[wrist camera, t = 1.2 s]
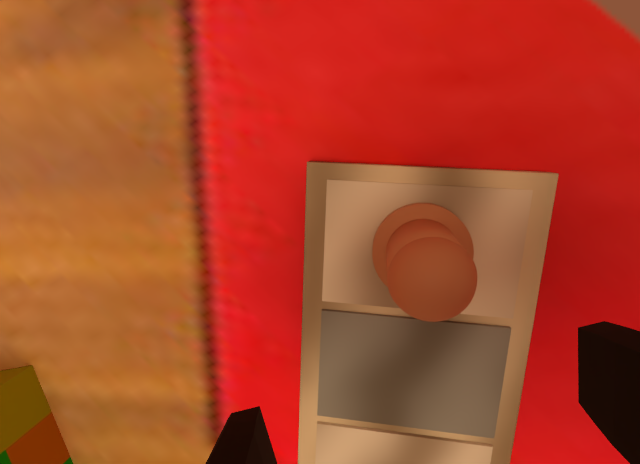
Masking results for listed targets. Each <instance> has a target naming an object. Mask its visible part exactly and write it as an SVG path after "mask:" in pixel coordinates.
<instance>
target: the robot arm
mask: <svg viewBox="0 0 640 464" xmlns="http://www.w3.org/2000/svg"><path fill="white" fill-rule="evenodd" d="M578 373H579V403H580V405H581V406H582V407H583V409H584V410H585V411H586V413H587V414H588V415H589V416H590V418H591V419H592V420H593V422H594V423H595V424H596V426H597V427H598V428H599V429H600V430H601V432H602V433H603V434H604V435H605V436H606V438H607V439H608V440H609V441H610V443H611V444H612V445H613V446H614V447H615V448H616V449H617V450H618V451H619V452H620V453H621V455H622V456H623V457H624V458H625V459H626V460H627V461H628V462H629V463H630V464H640V331H637V330H634V329H630V328H627V327H624V326H620V325H616V324H613V323H609V322H605V321H604V322H600V323H596V324H592V325H587V326H583V327H579V328H578ZM206 464H277V461H276V458H275V455H274V452H273V448H272V445H271V442H270V439H269V435H268V432H267V429H266V426H265V422H264V419H263V416H262V413H261V410H260V406H259V407H255V408H251V409H247V410H243V411H239V412H235V413H232V414H231V415H230V416H229V418H228V420H227V422H226V424H225V426H224V428H223V430H222V432H221V434H220V436H219V438H218V440H217V442H216V444H215V446H214V448H213V450H212V452H211V454H210V456H209V458H208V460H207V462H206Z"/></svg>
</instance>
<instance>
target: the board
mask: <svg viewBox="0 0 640 464" xmlns="http://www.w3.org/2000/svg"><path fill="white" fill-rule="evenodd" d="M558 175H559V174H557V173H552V172H537V171H515V170H493V169H471V168H449V167H428V166H406V165H384V164H362V163H341V162H319V161H309V162H307V178H306V211H305V244H304V278H303V311H302V344H301V377H300V411H299V444H298V464H510V459H511V453H512V447H513V441H514V435H515V429H516V423H517V417H518V411H519V406H520V400H521V394H522V388H523V382H524V376H525V370H526V364H527V358H528V352H529V346H530V340H531V334H532V329H533V323H534V317H535V311H536V305H537V299H538V293H539V287H540V281H541V275H542V269H543V263H544V258H545V252H546V246H547V240H548V234H549V228H550V222H551V216H552V210H553V204H554V198H555V192H556V186H557V181H558ZM412 203H432V204H436V205H439V206H442V207H444V208H446V209H447V210H449V211H451V212H452V213H453V214H455V215H456V216H457V217H458V218H459V219H460V220H461V221H462V222H463V224H464V225H465V226H466V228H467V230H468V231H469V233H470V236H471V238H472V242H473V248H474V256H473V261H474V263H475V266H476V270H477V287H476V291H475V294H474V297H473V299H472V300H471V302H470V304H469V305H468V306H467V307H466V308H465V309H464V310H463V311H462V312H461V313H460V314H458V315H456V316H455V317H453V318H450V319H448V320H444V321H438V322H428V321H422V320H419V319H416V318H414V317H412V316H410V315H408V314H407V313H405V312H404V311H403V310H402V309H401V308H400V307H399V306H398V305H397V304H396V303H395V302H394V300H393V299H392V297H391V295H390V293H389V290H388V287H387V286H386V285H385V284H384V283H383V282H382V281H381V279H380V278H379V276H378V274H377V272H376V270H375V267H374V264H373V258H372V249H373V240H374V237H375V233H376V231H377V229H378V227H379V226H380V224H381V223H382V221H383V220H384V219H385V218H386V217H387V216H388V215H389V214H390V213H392V212H393V211H394V210H396V209H398V208H400V207H402V206H405V205H408V204H412Z"/></svg>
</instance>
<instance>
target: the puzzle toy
mask: <svg viewBox="0 0 640 464" xmlns="http://www.w3.org/2000/svg"><path fill="white" fill-rule="evenodd" d="M0 464H73V462H72V460H71V457H70V455H69V453H68V450H67V448H66V445H65V443H64V441H63V438H62V436H61V433H60V431H59V429H58V426H57V424H56V421H55V419H54V416H53V414H52V412H51V409H50V407H49V404H48V402H47V400H46V397H45V395H44V392H43V390H42V387H41V385H40V383H39V380H38V378H37V375H36V373H35V371H34V368H33V366H32V365H30V366H25V367H19V368H13V369H8V370H2V371H0Z"/></svg>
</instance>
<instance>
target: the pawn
mask: <svg viewBox="0 0 640 464" xmlns="http://www.w3.org/2000/svg"><path fill="white" fill-rule="evenodd" d="M473 256H474V248H473V242H472V238H471V236H470V233H469V231H468V230H467V228H466V226H465V225H464V224H463V222H462V221H461V220H460V219H459V218H458V217H457V216H456V215H455V214H453V213H452V212H451V211H449V210H447V209H446V208H444V207H442V206H439V205H436V204H432V203H412V204H408V205H405V206H402V207H400V208H398V209H396V210H394V211H393V212H392V213H390V214H389V215H388V216H387V217H386V218H385V219H384V220H383V221H382V223H381V224H380V226H379V227H378V229H377V231H376V233H375V237H374V240H373V249H372V258H373V264H374V267H375V270H376V272H377V274H378V276H379V278H380V279H381V281H382V282H383V283H384V284H385V285H386V286H387V287H388V290H389V293H390V295H391V297H392V299H393V300H394V302H395V303H396V304H397V305H398V306H399V307H400V308H401V309H402V310H403V311H404V312H405V313H407V314H408V315H410V316H412V317H414V318H416V319H419V320H422V321H428V322H438V321H444V320H448V319H450V318H453V317H455V316H456V315H458V314H460V313H461V312H462V311H463V310H464V309H465V308H466V307H467V306H468V305H469V304H470V302H471V300H472V299H473V297H474V294H475V291H476V287H477V270H476V266H475V263H474V261H473Z"/></svg>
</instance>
